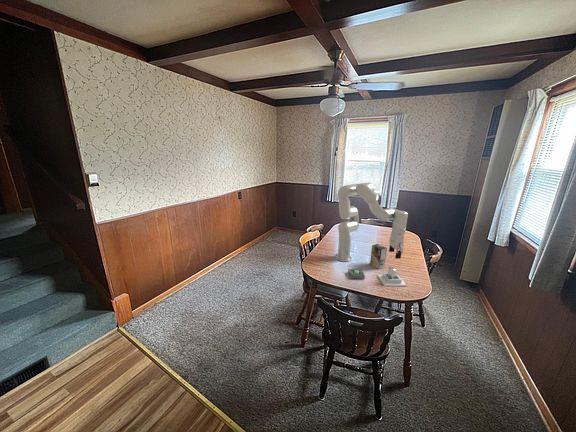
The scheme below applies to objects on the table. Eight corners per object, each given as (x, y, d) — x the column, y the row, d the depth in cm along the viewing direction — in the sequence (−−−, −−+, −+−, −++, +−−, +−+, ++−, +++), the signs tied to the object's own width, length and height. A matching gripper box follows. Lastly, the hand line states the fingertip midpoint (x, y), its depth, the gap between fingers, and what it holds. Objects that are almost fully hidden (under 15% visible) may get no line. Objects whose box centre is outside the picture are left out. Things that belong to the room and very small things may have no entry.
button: (352, 274, 161) (353, 269, 160) (357, 274, 161) (358, 269, 160) (354, 276, 157) (354, 272, 156) (359, 277, 157) (359, 272, 156)
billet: (386, 277, 155) (387, 266, 153) (393, 277, 155) (394, 267, 153) (389, 281, 150) (390, 270, 148) (396, 281, 150) (398, 270, 148)
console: (348, 272, 163) (348, 268, 163) (360, 272, 163) (361, 269, 162) (351, 279, 155) (351, 275, 154) (364, 279, 155) (364, 275, 154)
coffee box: (385, 267, 171) (387, 247, 166) (379, 269, 168) (381, 249, 163) (375, 262, 178) (377, 243, 174) (369, 264, 175) (371, 245, 171)
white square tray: (377, 276, 159) (378, 271, 158) (397, 276, 159) (398, 271, 158) (384, 286, 147) (384, 281, 146) (405, 286, 147) (406, 281, 146)
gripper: (387, 225, 151) (383, 249, 156) (398, 235, 135) (394, 261, 140) (398, 225, 151) (394, 249, 156) (411, 235, 135) (406, 261, 140)
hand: (394, 254), depth 148 cm, fingers open, 9 cm apart
